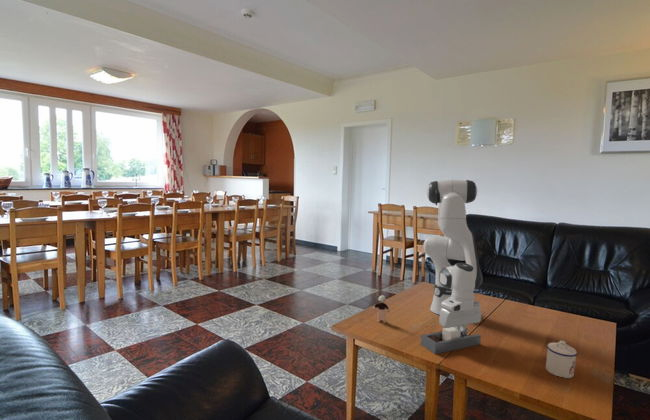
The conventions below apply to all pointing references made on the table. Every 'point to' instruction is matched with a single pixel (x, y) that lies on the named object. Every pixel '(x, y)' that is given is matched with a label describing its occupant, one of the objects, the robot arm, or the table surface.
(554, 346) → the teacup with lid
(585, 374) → the table surface
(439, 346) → the chute
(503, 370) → the table surface
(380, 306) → the grandmother figurine
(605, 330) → the table surface
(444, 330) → the block
